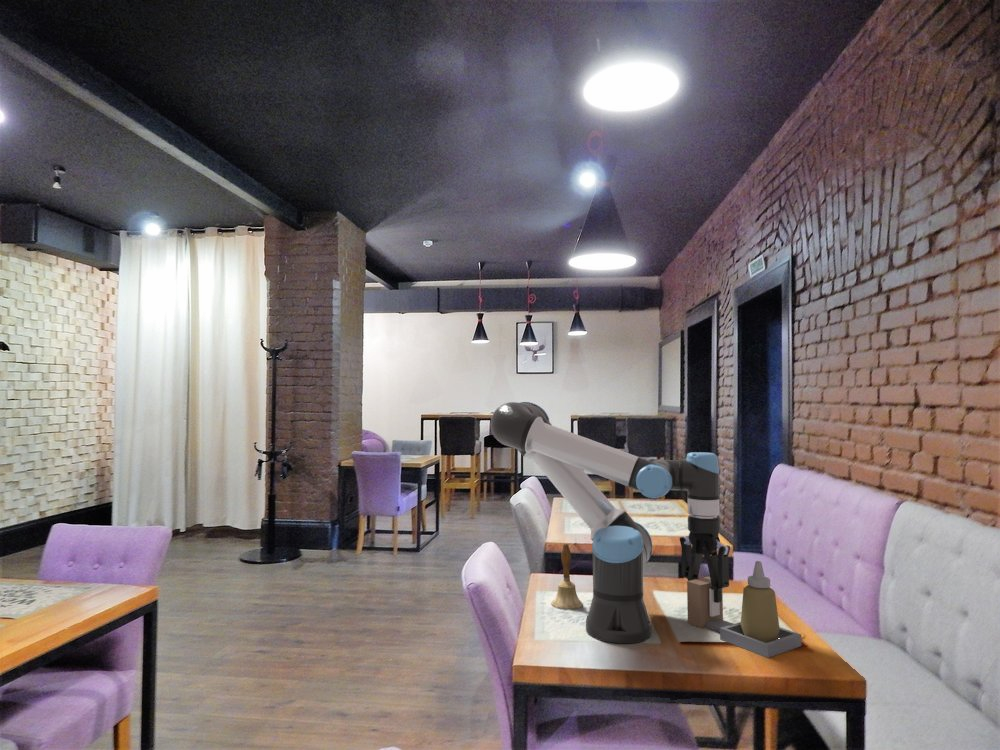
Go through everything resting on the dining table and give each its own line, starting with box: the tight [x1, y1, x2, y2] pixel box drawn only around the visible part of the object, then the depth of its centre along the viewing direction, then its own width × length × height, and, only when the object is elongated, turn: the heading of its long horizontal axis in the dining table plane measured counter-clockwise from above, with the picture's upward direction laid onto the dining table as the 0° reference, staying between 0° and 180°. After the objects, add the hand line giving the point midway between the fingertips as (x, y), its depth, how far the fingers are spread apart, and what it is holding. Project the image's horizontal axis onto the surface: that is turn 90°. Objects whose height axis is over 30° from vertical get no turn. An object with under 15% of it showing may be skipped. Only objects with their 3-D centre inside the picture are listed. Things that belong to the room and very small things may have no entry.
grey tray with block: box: [686, 575, 802, 659], centre depth 140 cm, size 23×12×10 cm, turn 32°
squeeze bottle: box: [740, 560, 780, 643], centre depth 136 cm, size 8×8×18 cm
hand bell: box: [551, 543, 584, 610], centre depth 162 cm, size 8×8×16 cm
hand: (705, 611), depth 148 cm, fingers open, 5 cm apart
